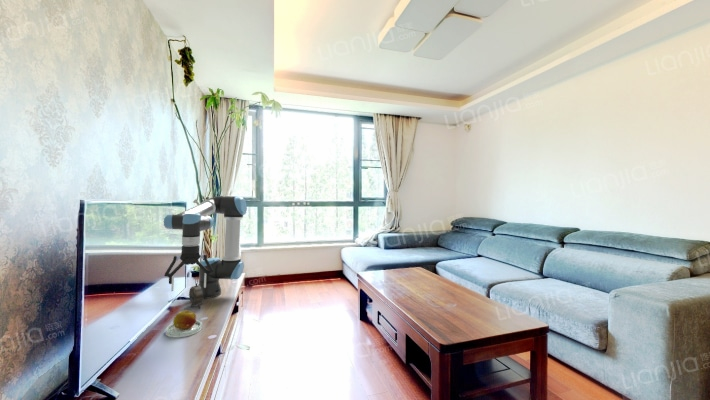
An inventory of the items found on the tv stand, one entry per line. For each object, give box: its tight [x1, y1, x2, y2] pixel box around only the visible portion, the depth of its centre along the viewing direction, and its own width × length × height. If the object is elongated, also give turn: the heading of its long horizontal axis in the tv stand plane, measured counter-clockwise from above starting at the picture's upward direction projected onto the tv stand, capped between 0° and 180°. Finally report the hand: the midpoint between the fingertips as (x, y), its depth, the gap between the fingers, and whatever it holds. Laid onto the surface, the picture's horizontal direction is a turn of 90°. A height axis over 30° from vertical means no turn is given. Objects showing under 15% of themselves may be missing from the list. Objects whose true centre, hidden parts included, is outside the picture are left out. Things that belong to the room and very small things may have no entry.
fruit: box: [172, 309, 197, 329], centre depth 134 cm, size 10×9×8 cm
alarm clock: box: [188, 278, 204, 309], centre depth 163 cm, size 11×5×16 cm, turn 47°
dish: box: [165, 319, 203, 339], centre depth 134 cm, size 15×15×2 cm
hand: (189, 288), depth 136 cm, fingers open, 13 cm apart
